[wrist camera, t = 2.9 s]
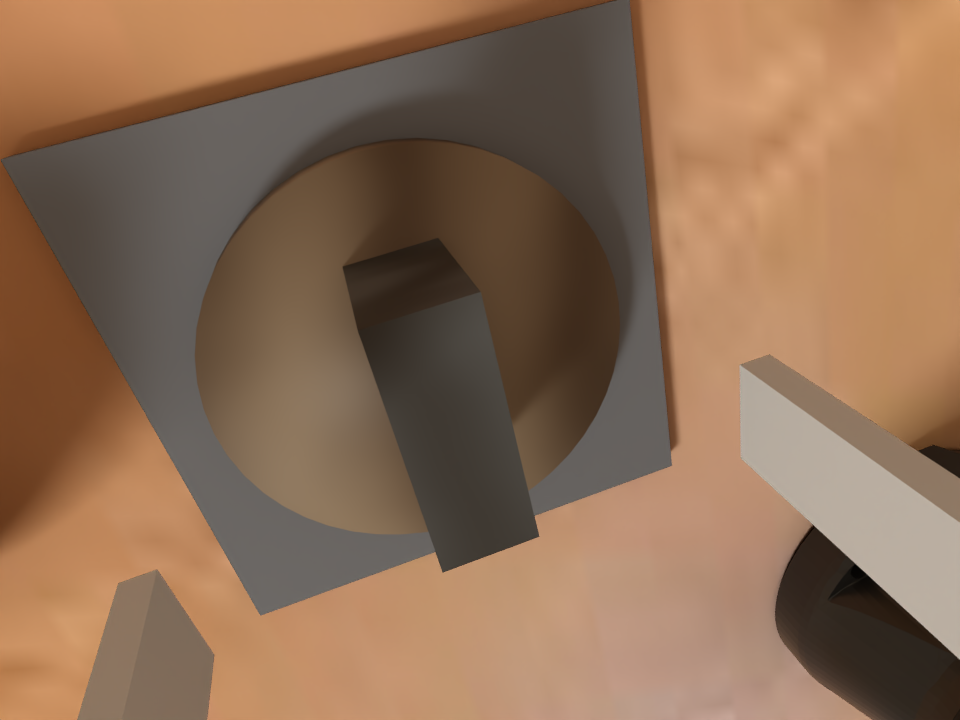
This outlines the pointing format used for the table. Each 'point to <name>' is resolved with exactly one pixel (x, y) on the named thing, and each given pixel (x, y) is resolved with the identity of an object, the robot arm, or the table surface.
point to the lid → (409, 343)
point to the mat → (294, 146)
